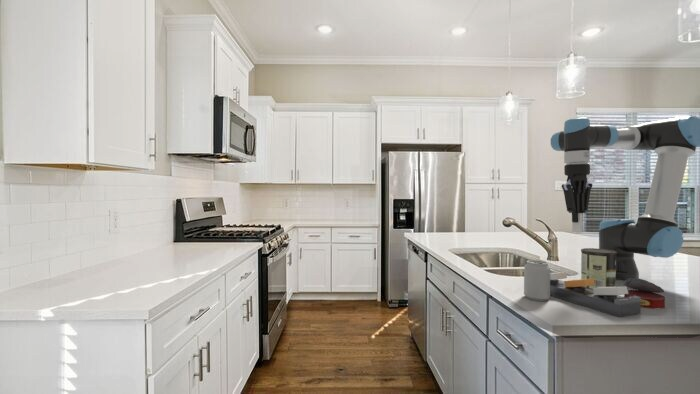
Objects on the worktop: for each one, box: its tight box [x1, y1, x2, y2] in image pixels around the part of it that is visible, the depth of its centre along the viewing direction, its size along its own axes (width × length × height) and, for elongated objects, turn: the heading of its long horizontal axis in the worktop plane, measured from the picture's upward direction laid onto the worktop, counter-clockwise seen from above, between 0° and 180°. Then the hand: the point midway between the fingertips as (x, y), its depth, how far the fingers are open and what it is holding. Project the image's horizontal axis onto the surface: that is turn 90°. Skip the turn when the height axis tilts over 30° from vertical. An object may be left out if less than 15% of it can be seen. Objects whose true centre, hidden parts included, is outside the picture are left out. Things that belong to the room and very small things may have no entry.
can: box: [523, 259, 551, 302], centre depth 117 cm, size 8×8×12 cm
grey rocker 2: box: [593, 286, 629, 296], centre depth 107 cm, size 7×4×2 cm, turn 22°
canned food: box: [623, 277, 666, 309], centre depth 113 cm, size 11×10×10 cm
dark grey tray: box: [550, 279, 642, 318], centre depth 116 cm, size 30×9×5 cm, turn 22°
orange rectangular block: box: [563, 278, 595, 287], centre depth 116 cm, size 7×4×2 cm, turn 22°
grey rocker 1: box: [550, 271, 568, 280], centre depth 124 cm, size 7×4×2 cm, turn 22°
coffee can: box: [580, 247, 617, 289], centre depth 127 cm, size 10×10×14 cm
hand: (577, 231), depth 126 cm, fingers closed
